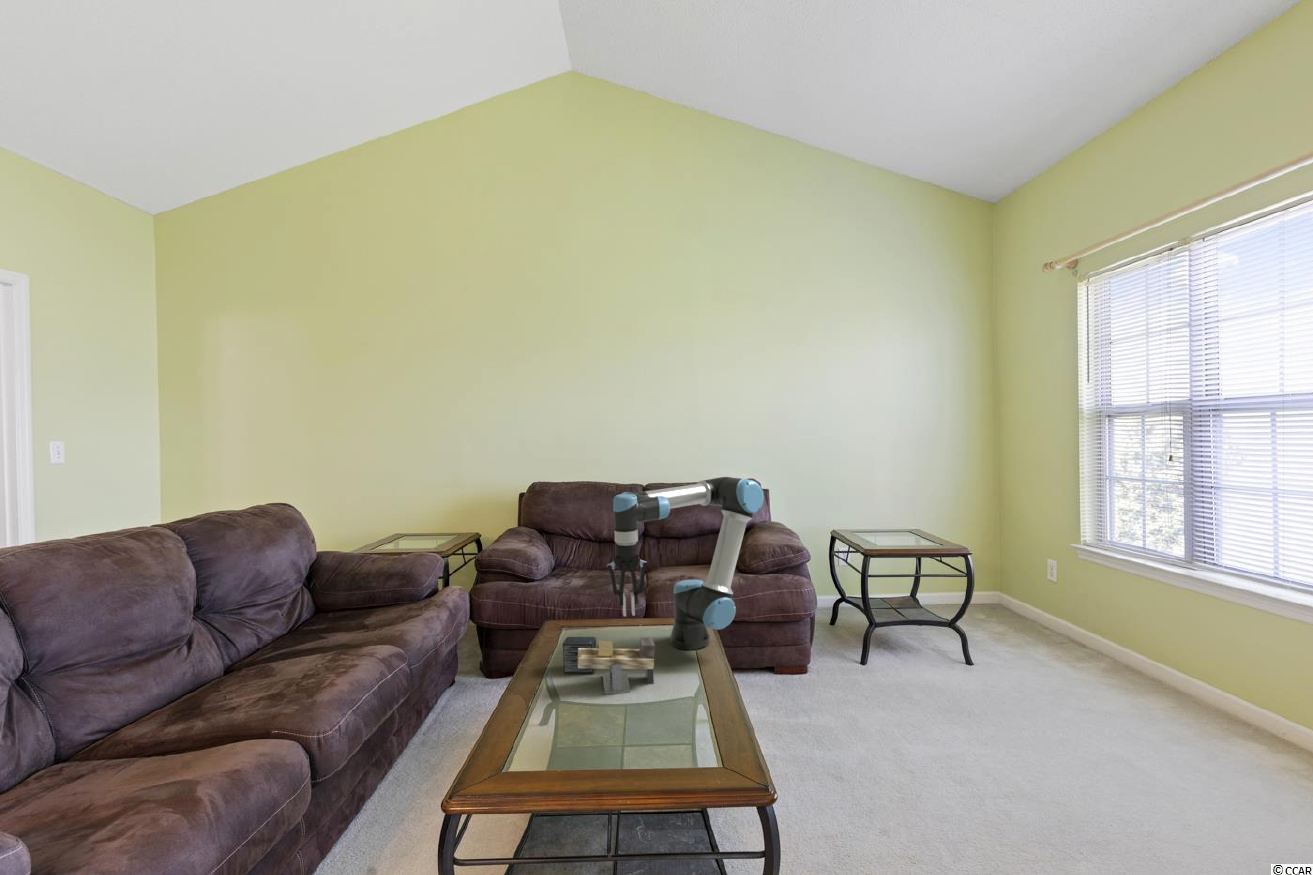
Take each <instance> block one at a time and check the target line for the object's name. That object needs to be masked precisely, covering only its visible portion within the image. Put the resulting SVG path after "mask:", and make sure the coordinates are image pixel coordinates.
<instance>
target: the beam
mask: <svg viewBox="0 0 1313 875" xmlns="http://www.w3.org/2000/svg"><path fill="white" fill-rule="evenodd" d="M655 647H656V644H655V641H654V639H653V638H652V637H640V638H639V648H618V649H616V648H613V653H612V658H597V649H598V647H596V648H578V668H596V669H602V670H603V669H604V670H605V669H606V670H607V669H609V670H610V669H612V664H618V663H621V667H622V670H623V669H624V670H645V669H653V670H654V666H655V664H654V663H655V658H654V657H655V650H656V649H655Z"/></svg>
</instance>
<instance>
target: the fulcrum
mask: <svg viewBox="0 0 1313 875" xmlns="http://www.w3.org/2000/svg"><path fill="white" fill-rule="evenodd" d="M615 649H619V648H618V647H617V648H615ZM622 670H623V669H622V667H621V663H618V664H612V669H609V672H606V673H602V675H601V676H602V682H603V689H604V690H603V691H604V695H605V696H606V695H616V694H623V693H624V694H625V693H630V692H631V686H630V683H629V677H628V674H627V670H626V671H622ZM644 670H645V679H646V680H645V681H646V683H647V685H652V684H654V683H655V682H654V676H655V675H654V668H653V669H644Z"/></svg>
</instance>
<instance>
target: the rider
mask: <svg viewBox="0 0 1313 875" xmlns="http://www.w3.org/2000/svg"><path fill="white" fill-rule="evenodd" d="M597 642H598V643H597V648H598V649H597V658H612V653H613V649H614V645H613V641H611V640H610V641H609V640H598V641H597Z"/></svg>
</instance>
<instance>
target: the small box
mask: <svg viewBox="0 0 1313 875" xmlns="http://www.w3.org/2000/svg"><path fill="white" fill-rule="evenodd" d="M578 648H597V637H596V636H566V638H565V640H564V641H563V642H562V656H563V657H562V658H563V674H569V675H570V674H571V675H573V674H574V675H576V674H578V675H579V674H580V675H581V674H585V675H586V674H587V675H593V674H595V671H596V669H597V668H578Z"/></svg>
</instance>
